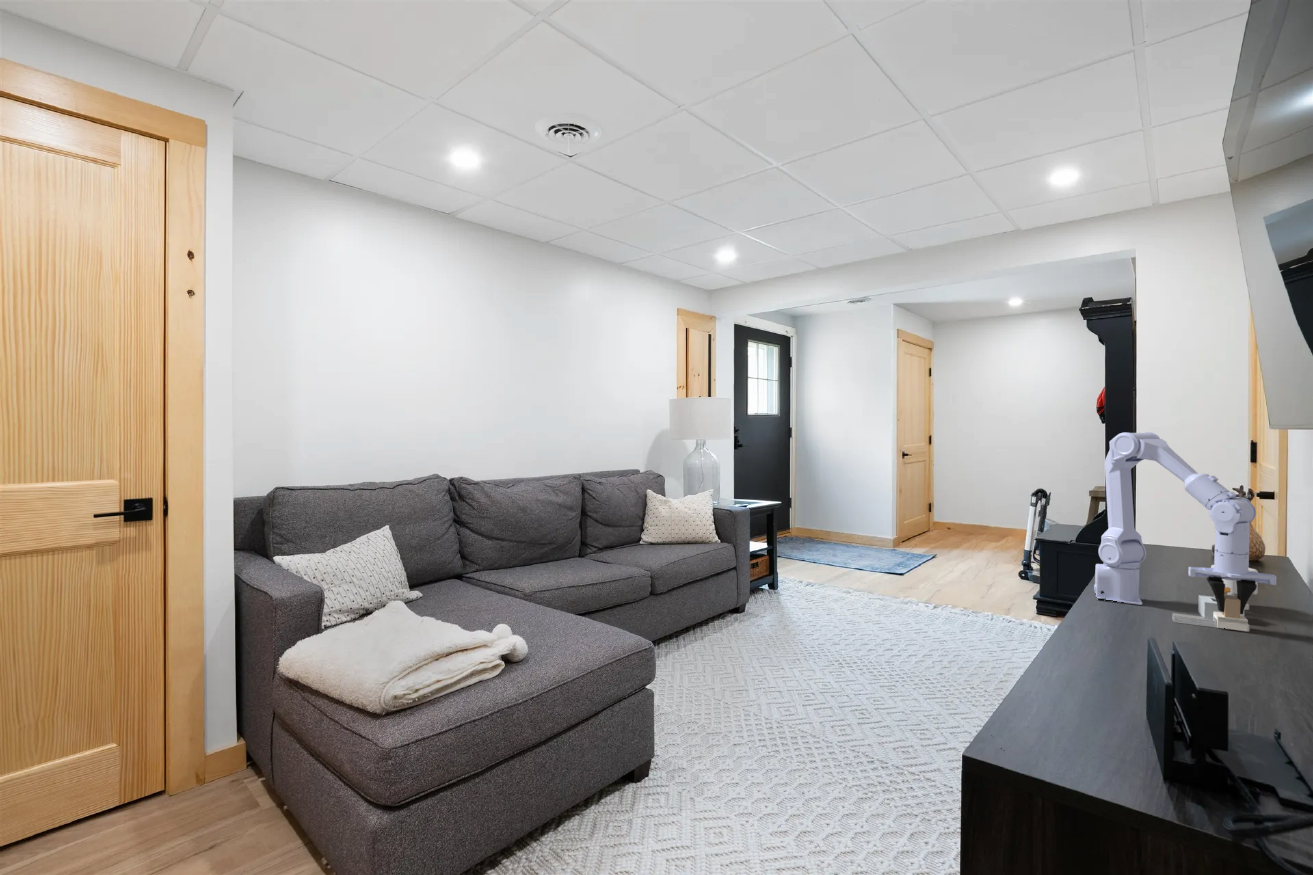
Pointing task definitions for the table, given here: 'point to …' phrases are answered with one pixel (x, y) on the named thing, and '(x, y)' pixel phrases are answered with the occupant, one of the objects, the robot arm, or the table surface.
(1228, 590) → the gold round knob
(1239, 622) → the carriage
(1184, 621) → the rail
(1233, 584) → the security camera
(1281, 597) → the table surface
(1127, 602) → the robot arm
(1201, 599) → the grey square-hole block
